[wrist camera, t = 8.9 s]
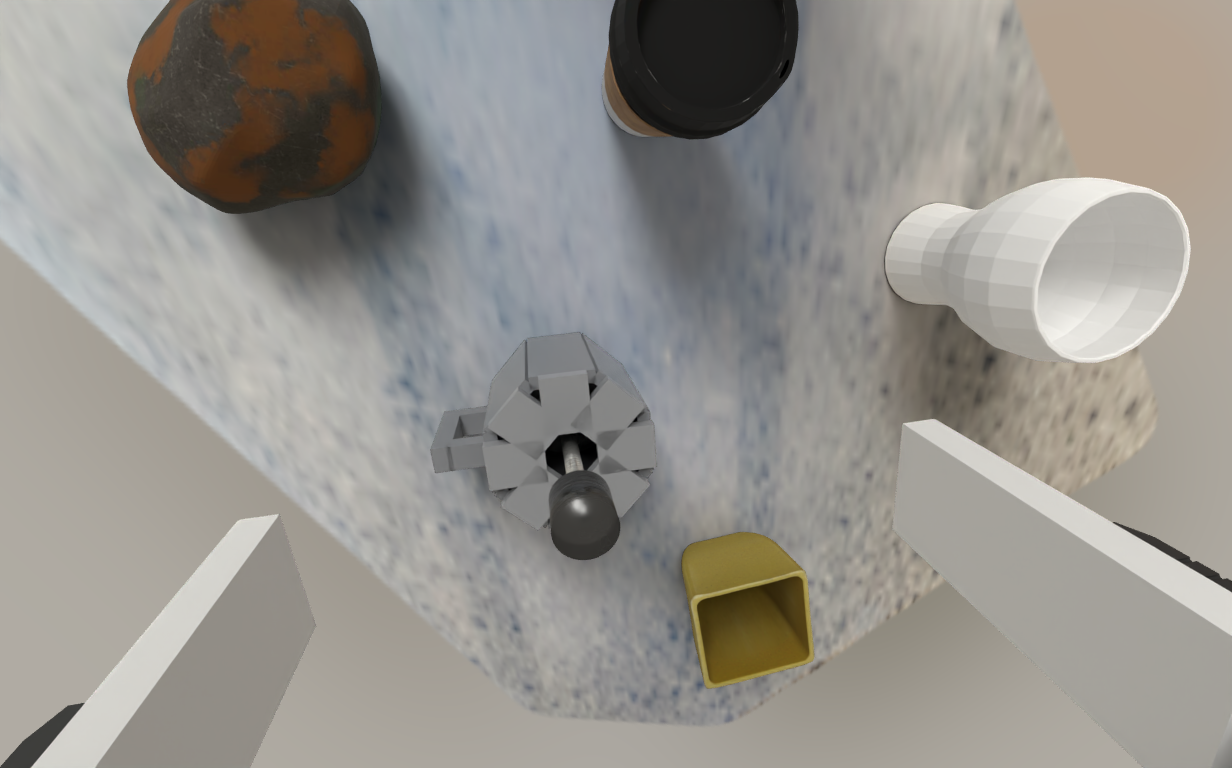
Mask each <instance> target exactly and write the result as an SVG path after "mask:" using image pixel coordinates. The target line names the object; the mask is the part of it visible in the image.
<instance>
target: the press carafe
mask: <svg viewBox="0 0 1232 768" xmlns="http://www.w3.org/2000/svg"><path fill="white" fill-rule="evenodd" d="M588 383H594V384H595V385H597V387H596V389H595V390H594V391H593V392H592V393H591V395H589V385H588ZM533 390H539V391H540V399H541V402H539V401H538V400H537V399H535V398H534V397H533V396H531V395H530V394H531V393H532V392H533ZM577 432H581V433H582V434H584V435H585V436H586V437H588V438H589V439H591V440H592V441H591V442H590V443H588V444H587V445H585V446H583V447H581V448H579V451H580V456H581V460H582V465H583V469H584V470H587V471H591V472H594V473H596V474H598V475H600V476H601V477H602V478H603V479H604V480H605V481H606V482H607V484H608V486H609V488H610V491H611V495H612V498H613V501H614V505H615V508H616V511H617V515H618V516H619V517H620V518H622V517H623V515H624V514H625V513H626V512H627V511H628V510H629V509H630V508H631V506H632V505H633V504H634V503H635V502H636V501H637V500H638V498H639V497H640V496H641V495H642V494H643V493H644V492H645V491H646V489H647V488H648V487H649V486H650V484H649V481H648V479H647V478H648V477H649V476H650V475H651V474H652V473H653V472H652V469H654V467H657V462H656V446H655V431H654V423H653V422H652V420H650V411H649V409H648V407H647V405H646V404H645V402H644V400H643V399H642V397H641V395H640V394H639V392H638V390H637V389H636V387H635V385H634V384H633V382H632V380H631V379H630V377H629V375H628V374H627V372H626V370H625V369H624V367H623V365H622V364H621V363H620V362H619V361H617V360H616V359H615V358H614V357H612V356H611V355H610V354H608V353H607V352H606V351H605V350H603V349H602V348H601V347H600V346H598V345H597V344H596V343H595V342H593V341H592V340H591V339H589V338H588V337H587V336H586V335H584V334H583V333H582V334H580V332H577V333H569V334H560V335H551V336H542V337H534V338H527V341H526V340H524V341H523V342H522V343H521V345H520V346H519V347H518V348H517V350H516V351H515V352H514V353H513V355H512V356H511V357H510V358H509V360H508V361H507V362H506V363H505V364H504V366H503V367H502V368H501V369H500V371H499V372H498V373H497V374H496V376H495V377H494V378H493V379H492V383H491V388H490V394H489V400H488V405H487V406H484V407H476V408H468V409H460V410H453V411H445V412H444V414H443V417H442V420H441V422H440V425H439V428H438V430H437V433H436V436H435V438H434V441H433V444H432V446H431V449H430V450H431V455H432V460H433V465H434V470H435V473H441V472H448V471H455V470H462V469H469V468H477V467H484V466H485V467H486V473H487V479H488V484H489V490H490V491H492V493H493V492H495V496H496V497H498V498H499V499H501V500H502V501H501V508H503V509H504V510H506V511H507V512H509V513H511V514H512V515H514V516H515V517H517V518H519V519H520V520H522V521H523V522H525V523H526V524H528V525H530V526H531V527H533V528H534V529H536V530H537V531H538V530H539V529H540V528H541V527H542V526H543V527H545V528H546V526H547V525H548V527H549V528H551V524H550V512H549V493H550V490H551V488H552V486H553V485H554V483H555V482H556V481H557V480H558V479H559V478H560V477H561V476H563V475H565V474H566V470H565V463H564V457H563V452H557V451H551V450H548V449H547V448H548V447H549V446H550V444H551V443H552V442H553V441H554V440H555V439H556V437H557V436H558V435H562V434H570V433H577ZM477 434H483V435H481V436H473V437H466V438H463V436H469V435H477Z"/></svg>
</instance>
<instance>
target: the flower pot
mask: <svg viewBox="0 0 1232 768" xmlns="http://www.w3.org/2000/svg"><path fill="white" fill-rule="evenodd" d="M682 573H683V578H684V583H685V589H686V594H687V599H688V605H689V611H690V617H691V623H692V630H693V636H694V641H695V645H696V650H697V654H698V658H699V663H700V667H701V671H702V676H703V680H704V684H705V686H706V688H707V689H711V688H718V687H722V686H727V685H731V684H735V683H738V682H742V681H746V680H749V679H753V678H757V677H761V676H764V675H768V674H772V673H775V672H779V671H783V670H787V669H791V668H795V667H798V666H802V665H805V664H807V663H810V662H812V661H813V660H814V644H813V637H812V626H811V616H810V605H809V590H808V580H807V575H806V572H805V571H804V570H803V569H802V568H801V567H800V566H799V565H798V564H797V563H796V562H795V561H794V560H793V559H792V558H791V557H790V556H789V555H788V554H787V553H786V552H785V551H784V550H783V549H782V548H781V547H780V546H779V545H778V544H776V543H775V542H774V541H773V540H771V539H769V538H768V537H766V536H763V535H760V534H756V533H749V532H738V533H734V534H730V535H726V536H721V537H718V538H713V539H709V540H705V541H701V542H696V543H692V544H690V545H689V546H688V547H687V548H686V549H685V551H684V553H683V556H682Z"/></svg>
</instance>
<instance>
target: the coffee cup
mask: <svg viewBox="0 0 1232 768" xmlns="http://www.w3.org/2000/svg"><path fill="white" fill-rule="evenodd" d="M797 40H798V10H797V5H796V0H615V4H614V7H613V10H612V14H611V20H610V29H609V47H608V52H607V58H606V64H605V70H604V73H603V79H602V97H603V101H604V105H605V107H606V110H607V112H608V114H609V116H610V117H611V118H612V120H613V121H614V122H615V123H616V124H617V125H618V126H619V127H620V128H621V129H623V130H624V131H626V132H627V133H630V134H632V135H635V136H641V137H668V136H674V137H679V138H685V139H707V138H711V137H714V136H718V135H722V134H724V133H726V132H728V131H730V130H732V129H734V128H736V127H738V126H740V125H742V124H744V123H745V122H746V121H747V120H749V119H750V118H751V117H752V116H754V115H755V114H756V113H757V112H758V111H759V110H760V109H761V108H762V106H763V105H764V104H765V103H766V102H767V101H768V100H769V99H770V98H771V97H772V96H773V95H774V94H775V93H776V91H777V90H778V89H779V88H780V87H781V86H782V84H783V83H784V82H785V80H786V79H787V78H788V76H789V74H790V72H791V70H792V67H793V63H794V58H795V53H796V47H797Z"/></svg>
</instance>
